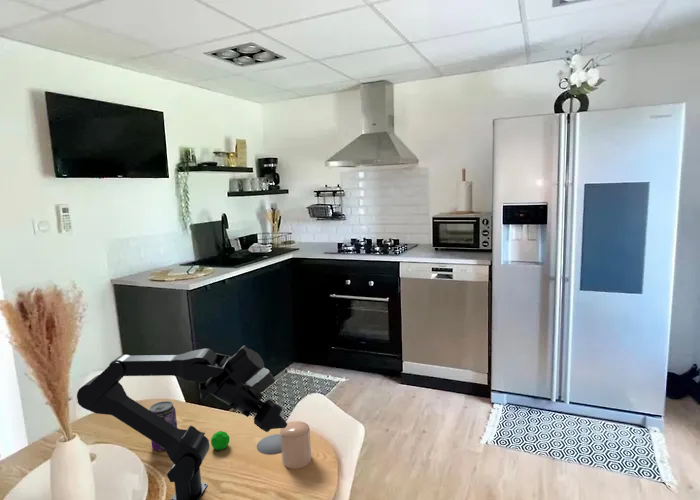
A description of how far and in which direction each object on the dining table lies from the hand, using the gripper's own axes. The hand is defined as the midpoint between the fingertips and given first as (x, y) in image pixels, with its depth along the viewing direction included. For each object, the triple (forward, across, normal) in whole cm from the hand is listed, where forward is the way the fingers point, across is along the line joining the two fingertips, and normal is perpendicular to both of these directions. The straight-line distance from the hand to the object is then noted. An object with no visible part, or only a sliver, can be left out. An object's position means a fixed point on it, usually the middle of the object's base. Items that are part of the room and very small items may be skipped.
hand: (276, 418), depth 111 cm
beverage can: (-4, +32, +23) cm, 40 cm away
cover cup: (+13, 0, +6) cm, 14 cm away
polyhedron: (+4, +20, +15) cm, 25 cm away
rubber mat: (+13, +10, +6) cm, 18 cm away
